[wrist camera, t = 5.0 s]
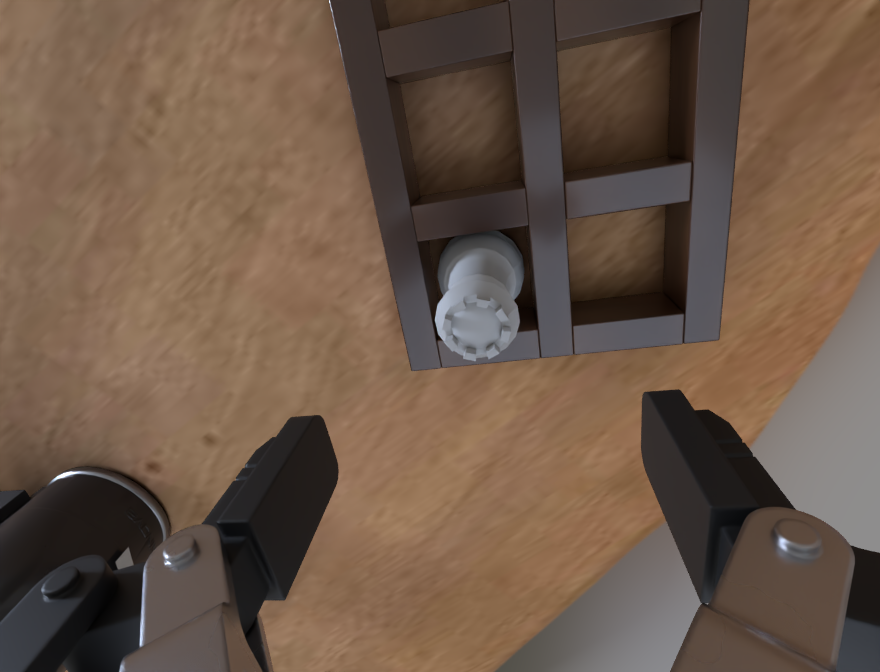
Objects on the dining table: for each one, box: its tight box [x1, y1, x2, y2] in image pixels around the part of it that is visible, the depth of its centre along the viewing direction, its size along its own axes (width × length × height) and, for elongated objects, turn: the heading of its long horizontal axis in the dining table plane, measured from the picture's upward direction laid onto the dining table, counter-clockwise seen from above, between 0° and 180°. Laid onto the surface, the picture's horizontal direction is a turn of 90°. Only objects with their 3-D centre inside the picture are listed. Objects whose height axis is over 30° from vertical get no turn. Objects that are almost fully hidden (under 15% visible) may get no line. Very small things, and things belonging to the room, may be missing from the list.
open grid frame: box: [329, 0, 749, 371], centre depth 19 cm, size 15×21×3 cm
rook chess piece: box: [435, 230, 524, 361], centre depth 20 cm, size 4×4×8 cm
